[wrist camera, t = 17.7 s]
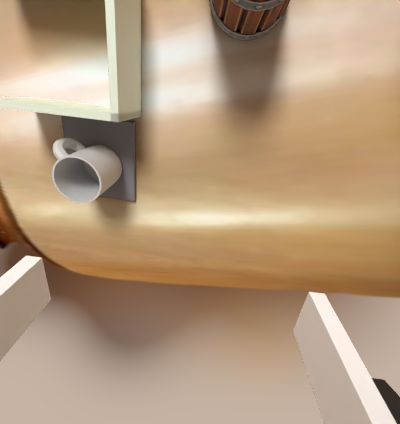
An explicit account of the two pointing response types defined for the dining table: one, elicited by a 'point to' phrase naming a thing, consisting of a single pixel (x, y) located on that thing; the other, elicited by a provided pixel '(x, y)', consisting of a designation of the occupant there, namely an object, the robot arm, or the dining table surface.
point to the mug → (247, 16)
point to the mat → (112, 138)
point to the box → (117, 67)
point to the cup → (84, 170)
